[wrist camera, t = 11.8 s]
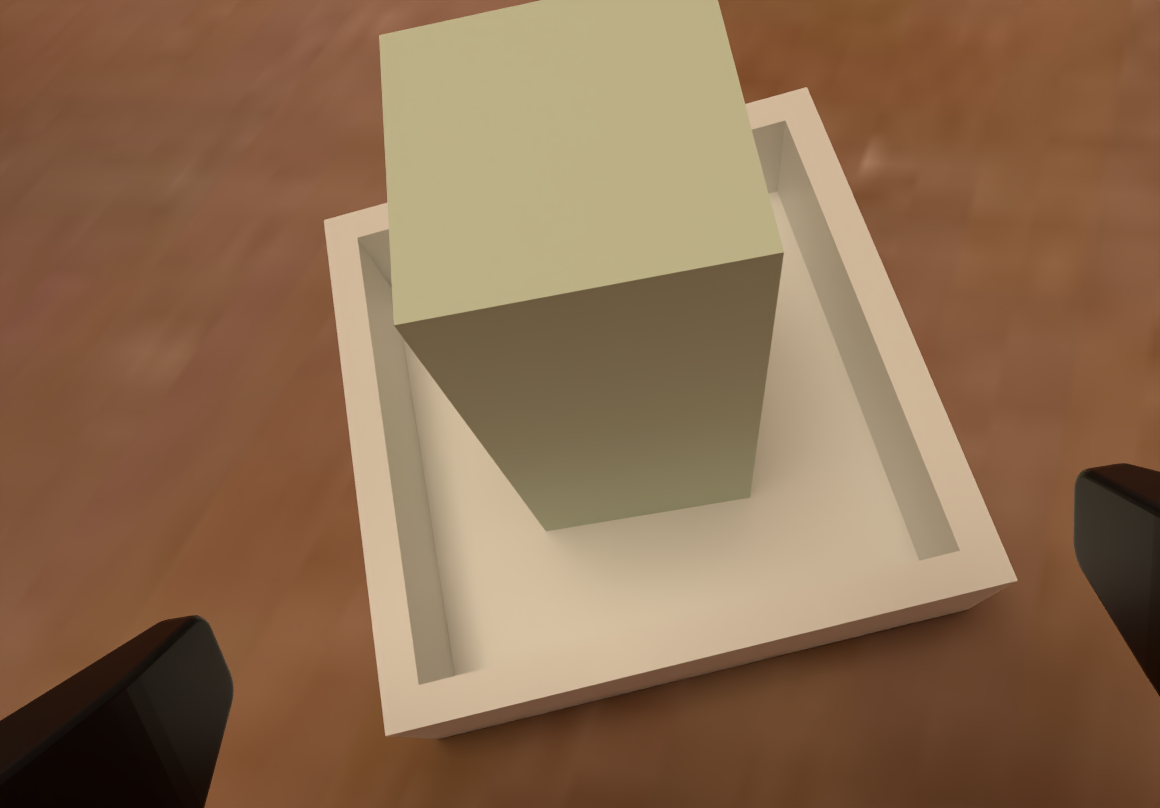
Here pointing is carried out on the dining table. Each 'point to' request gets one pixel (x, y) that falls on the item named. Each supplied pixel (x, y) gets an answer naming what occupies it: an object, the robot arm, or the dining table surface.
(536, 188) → the pale green tall block
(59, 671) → the dining table surface
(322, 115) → the dining table surface
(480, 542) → the box
